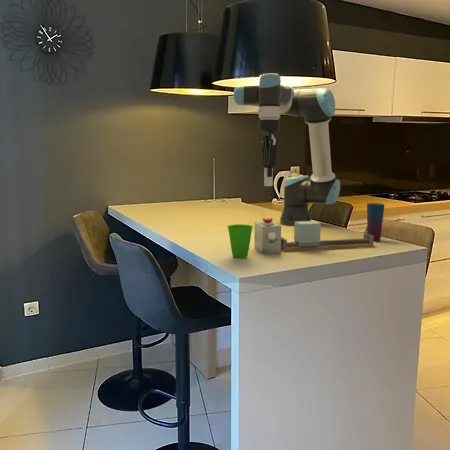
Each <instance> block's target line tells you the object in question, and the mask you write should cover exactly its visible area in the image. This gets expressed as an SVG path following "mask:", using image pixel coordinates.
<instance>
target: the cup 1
mask: <svg viewBox="0 0 450 450" xmlns="http://www.w3.org/2000/svg"><path fill="white" fill-rule="evenodd" d="M227 229H228V230H227V231H228V235H229V242H230V249H231V254H232V257H233V258H232V259H236V260H243V259H244V260H245V259H247V258H248V255H249V249H250V243H251V237H252V232H253V229H254V226H253V225H251V224H246V223H245V224H244V223H243V224H241V223H236V224H235V223H234V224H229V225H227Z"/></svg>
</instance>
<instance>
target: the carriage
mask: <svg viewBox="0 0 450 450" xmlns="http://www.w3.org/2000/svg"><path fill="white" fill-rule="evenodd" d="M321 224H322V223H321V222H318V221H315V220H311V221H300V222H294V225H293V226H294V227H293V228H294V229H293V231H294V232H293V242H299V244H298V246H299V247H304V246H319V243H320V241H321Z"/></svg>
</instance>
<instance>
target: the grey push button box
mask: <svg viewBox="0 0 450 450" xmlns="http://www.w3.org/2000/svg"><path fill="white" fill-rule="evenodd" d="M253 236H254V238H253V239H254V240H253V241H254V244H253V245H254V250H256V251H257V252H258V253H259V254H261V255H271V254H273V255H275V254H282V253H281V252H282V250H281V237H282V225H281V224H278V223H276V222H274V221H272V223H271V225H264V221H256V222H254V235H253Z"/></svg>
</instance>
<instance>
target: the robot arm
mask: <svg viewBox="0 0 450 450" xmlns="http://www.w3.org/2000/svg"><path fill="white" fill-rule="evenodd" d="M262 74H263V75H262ZM262 74H261V75H259V80H258V83H256V84H253V83H252V84H240V85H236V86H235V88H234V90H233V100H234V102H235V104H236V105H237V106H252V107H258V109H257V113H258V118H259V119H260V120H259V119H258V130H259V131H261V132H263V133H262V138H261V139H260V145H261V161H262V162H261V163H262V164H261V165H262V166H263V168H264V169H263V170H264V174H263V175H264V178H263V179H264V182H263V183H264V184H263V186H264V187H273V185H274V184H273V180H274V179H273V178H274V177H273V176H274V175H273V173H274V172H273V171H274V167H276V160H277V151H278V150H277V148H278V143H279V139H278V138H277V137H276V131H280V128H281V121H280V119H281V114H282V115H285V116H291V117H295V118H296V117H297V118H298V117H303V118H304V123H305V124H307V125H308V133H309V143H310V145H309V146H310V154H311V165H312V174H311V175H310V176H309V175H299V176H291V177H289V176H288V177H286V178H285V179H284V186H283V191H284V192H283V194H284V195H283V209H282V212H281V216H280V219H279V223H280V225H285V226H294V222H300V221H312V217H311V214H310V210H309V204H317V205H318V204H320V205H334V204H336V203H337V201H338V199H339V196H340V191H341V182H340V180H339V179H338V178H337V179H336V174H335V173H334V172H333V171H332V160H331V159H332V158H331V145H330V143H331V142H330V132H329V131H330V129H329V122H330V121H331V120H332V116H335V112H336V101H335V96H334V94H333V92H332V90H330V89H328V88H321V87H320V88H308V89H294V88H293V86H291V85H290V84H288V83H286V82H282V79H281V75H280V74H279V75H280V76H279V75H278V73H262Z"/></svg>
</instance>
